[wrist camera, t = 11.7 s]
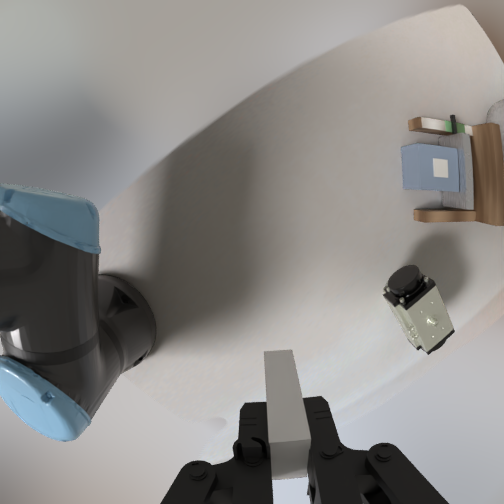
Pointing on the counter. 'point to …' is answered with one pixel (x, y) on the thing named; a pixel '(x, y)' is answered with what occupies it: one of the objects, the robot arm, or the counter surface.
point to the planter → (497, 118)
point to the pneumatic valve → (418, 308)
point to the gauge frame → (484, 173)
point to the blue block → (430, 167)
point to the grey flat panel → (460, 169)
